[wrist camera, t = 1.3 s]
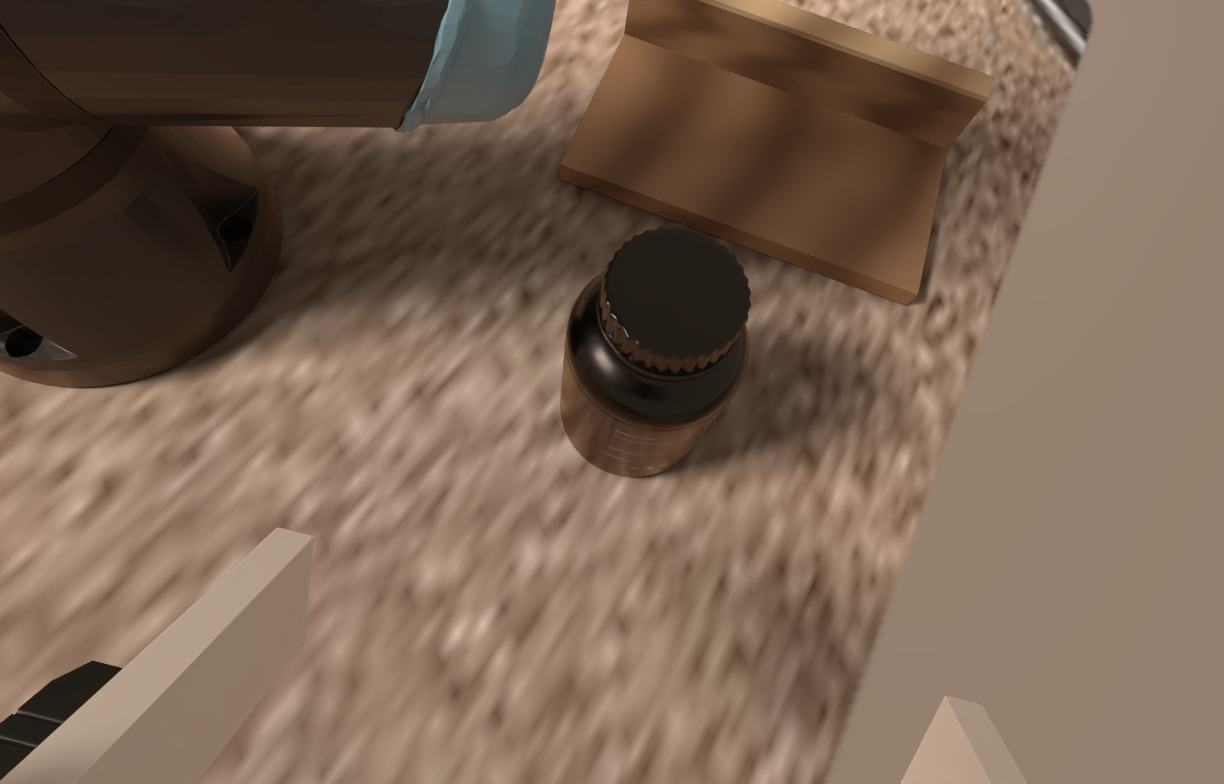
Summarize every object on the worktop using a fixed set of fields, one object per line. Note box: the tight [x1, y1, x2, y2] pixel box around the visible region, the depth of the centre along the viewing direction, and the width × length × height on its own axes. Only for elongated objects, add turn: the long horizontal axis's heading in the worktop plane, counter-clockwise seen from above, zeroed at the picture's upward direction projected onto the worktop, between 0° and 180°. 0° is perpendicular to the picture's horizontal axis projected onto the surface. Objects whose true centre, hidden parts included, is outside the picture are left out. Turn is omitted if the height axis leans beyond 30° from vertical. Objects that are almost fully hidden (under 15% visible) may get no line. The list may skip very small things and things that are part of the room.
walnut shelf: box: [559, 0, 993, 305], centre depth 36 cm, size 20×12×5 cm, turn 70°
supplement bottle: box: [560, 226, 751, 477], centre depth 27 cm, size 7×7×12 cm
